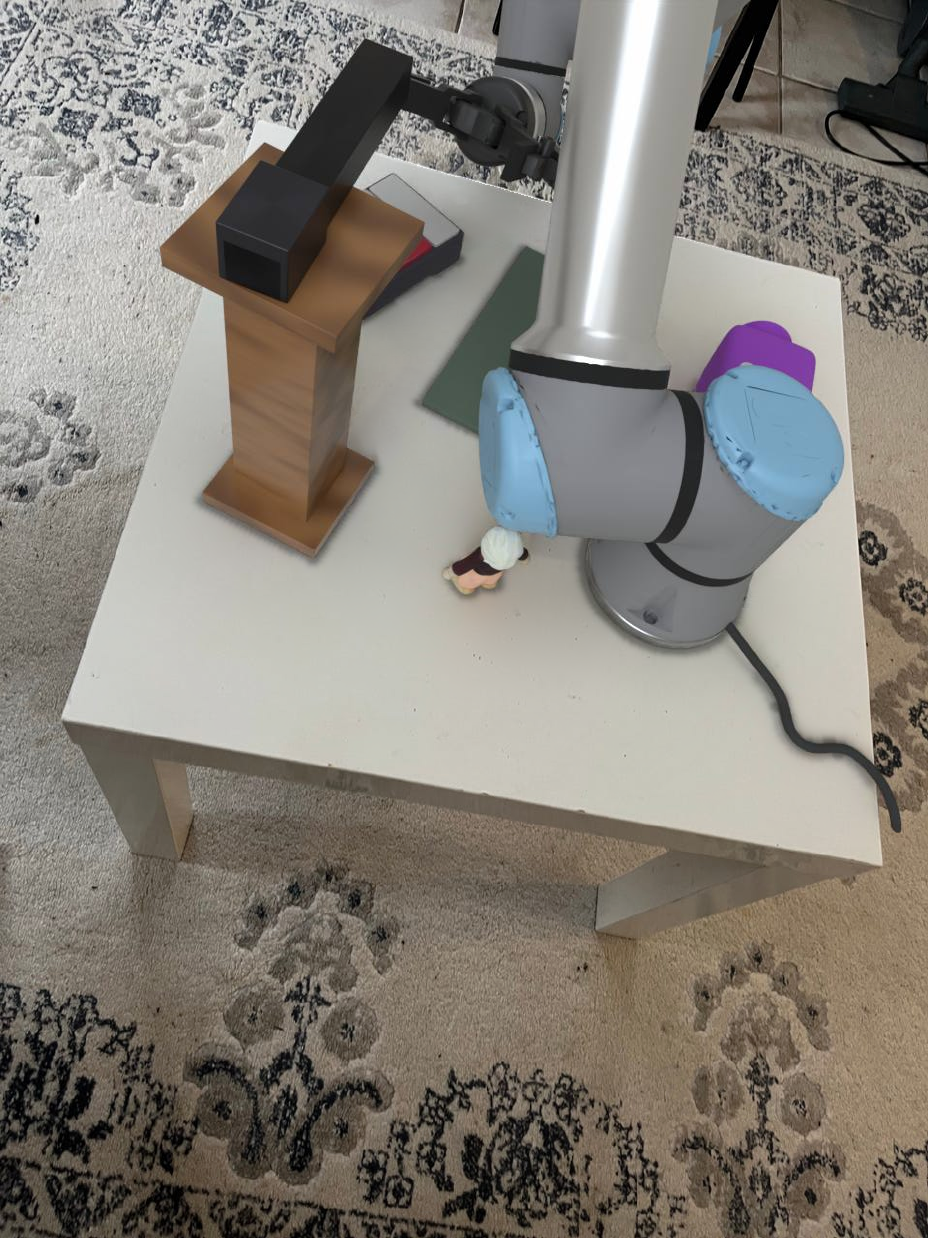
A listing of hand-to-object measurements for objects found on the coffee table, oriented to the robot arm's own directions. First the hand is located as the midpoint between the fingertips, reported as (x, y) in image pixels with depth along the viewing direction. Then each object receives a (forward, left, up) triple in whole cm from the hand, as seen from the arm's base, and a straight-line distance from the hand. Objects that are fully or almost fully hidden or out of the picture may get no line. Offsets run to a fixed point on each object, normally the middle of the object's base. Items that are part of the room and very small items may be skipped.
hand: (432, 123), depth 69 cm
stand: (-15, +15, -24) cm, 32 cm away
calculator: (+11, -1, -24) cm, 27 cm away
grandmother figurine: (-27, +2, -24) cm, 37 cm away
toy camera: (-16, -32, -24) cm, 43 cm away
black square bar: (-10, +12, +4) cm, 16 cm away
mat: (-3, -13, -24) cm, 27 cm away
